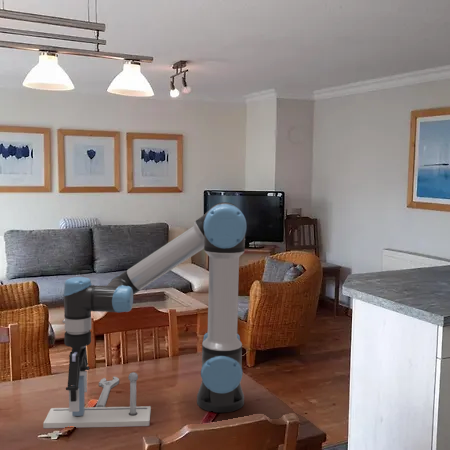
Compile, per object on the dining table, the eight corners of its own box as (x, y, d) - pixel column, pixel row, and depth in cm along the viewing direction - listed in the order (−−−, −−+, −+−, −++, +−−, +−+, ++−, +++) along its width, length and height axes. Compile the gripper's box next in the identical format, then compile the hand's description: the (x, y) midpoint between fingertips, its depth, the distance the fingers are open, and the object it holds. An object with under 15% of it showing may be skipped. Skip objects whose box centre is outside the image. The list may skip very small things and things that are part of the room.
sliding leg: (84, 411, 165) (84, 375, 164) (82, 415, 162) (82, 379, 161) (74, 411, 165) (74, 375, 164) (72, 415, 162) (72, 379, 161)
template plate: (150, 410, 170) (151, 366, 169) (149, 425, 161) (149, 378, 159) (51, 412, 168) (50, 367, 166) (43, 428, 158) (42, 380, 156)
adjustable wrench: (103, 413, 170) (103, 407, 170) (82, 412, 170) (82, 407, 170) (120, 381, 195) (120, 376, 194) (102, 381, 195) (102, 376, 194)
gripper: (72, 319, 173) (73, 384, 175) (55, 344, 148) (56, 420, 150) (97, 319, 174) (97, 384, 176) (83, 344, 149) (84, 419, 151)
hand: (78, 401), depth 163 cm, fingers open, 13 cm apart
